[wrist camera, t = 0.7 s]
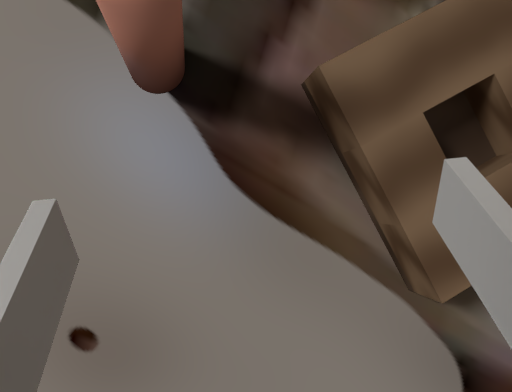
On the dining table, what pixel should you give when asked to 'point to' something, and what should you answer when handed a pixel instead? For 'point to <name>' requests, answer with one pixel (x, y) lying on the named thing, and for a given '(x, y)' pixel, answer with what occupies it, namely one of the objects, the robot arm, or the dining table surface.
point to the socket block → (422, 125)
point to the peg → (148, 40)
